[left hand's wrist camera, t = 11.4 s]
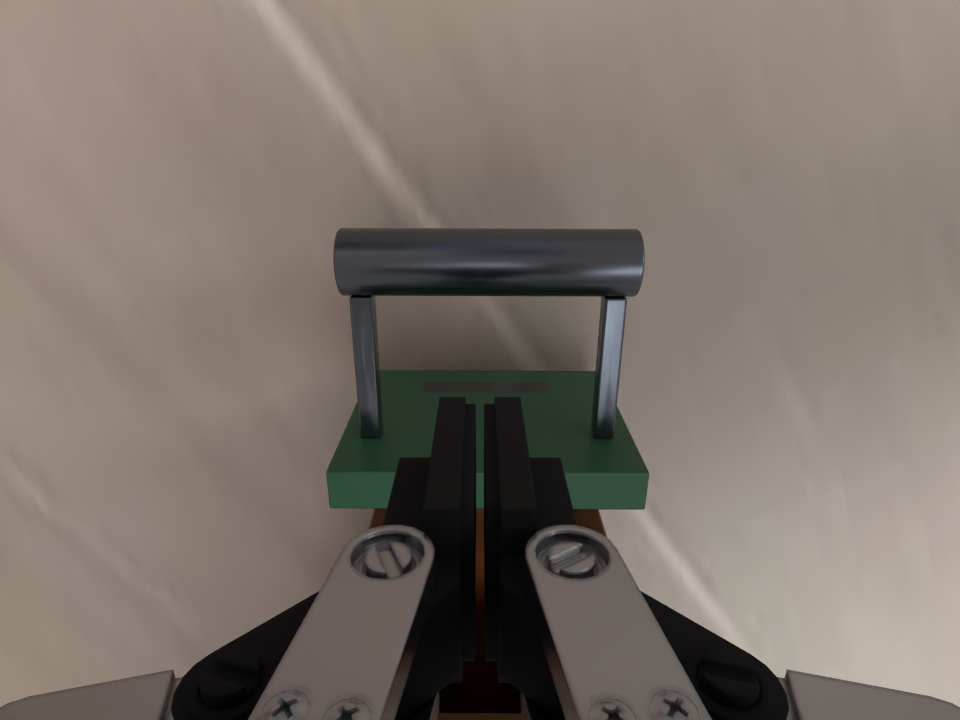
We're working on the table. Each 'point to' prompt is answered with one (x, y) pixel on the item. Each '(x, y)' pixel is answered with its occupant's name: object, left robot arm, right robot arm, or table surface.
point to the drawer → (489, 383)
